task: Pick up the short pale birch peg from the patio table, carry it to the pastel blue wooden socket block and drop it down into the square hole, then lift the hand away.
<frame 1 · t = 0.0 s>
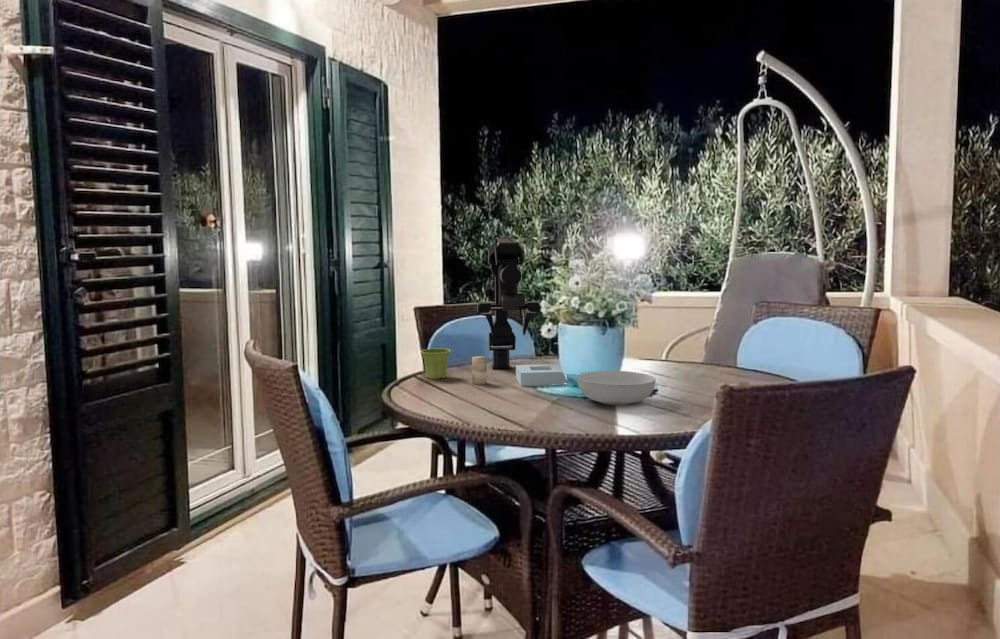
hand: (508, 335, 240), 15 cm above the table, tool pointing down, fingers open, 9 cm apart
birch peg: (479, 383, 242), on the table
socket block: (540, 381, 245), on the table
serving bowl: (615, 402, 215), on the table
plant pot: (436, 378, 253), on the table
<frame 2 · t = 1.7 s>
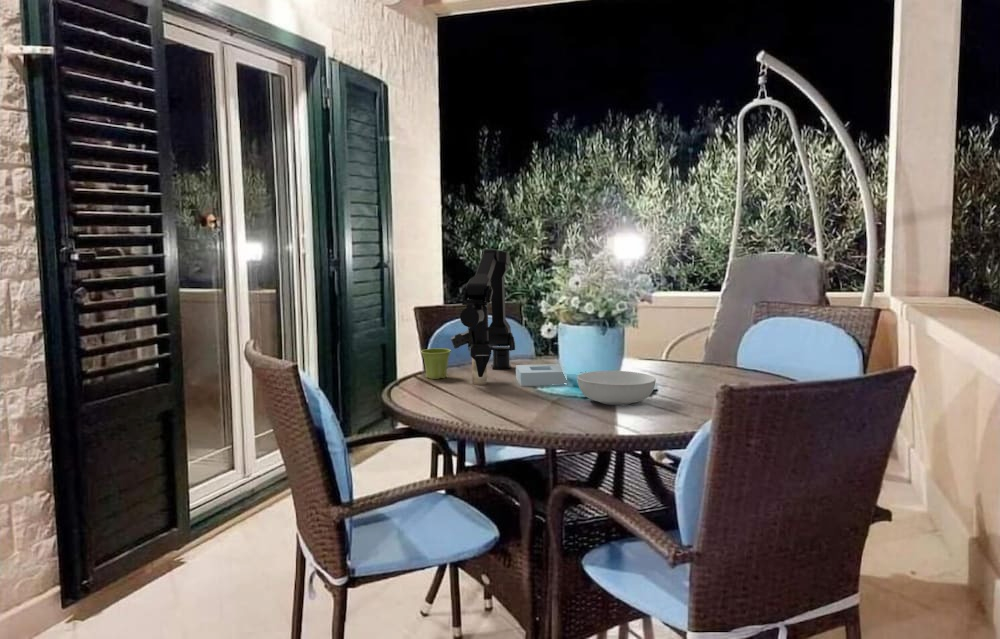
hand: (479, 374, 242), 3 cm above the table, tool pointing down, fingers open, 9 cm apart
nothing on the table moved.
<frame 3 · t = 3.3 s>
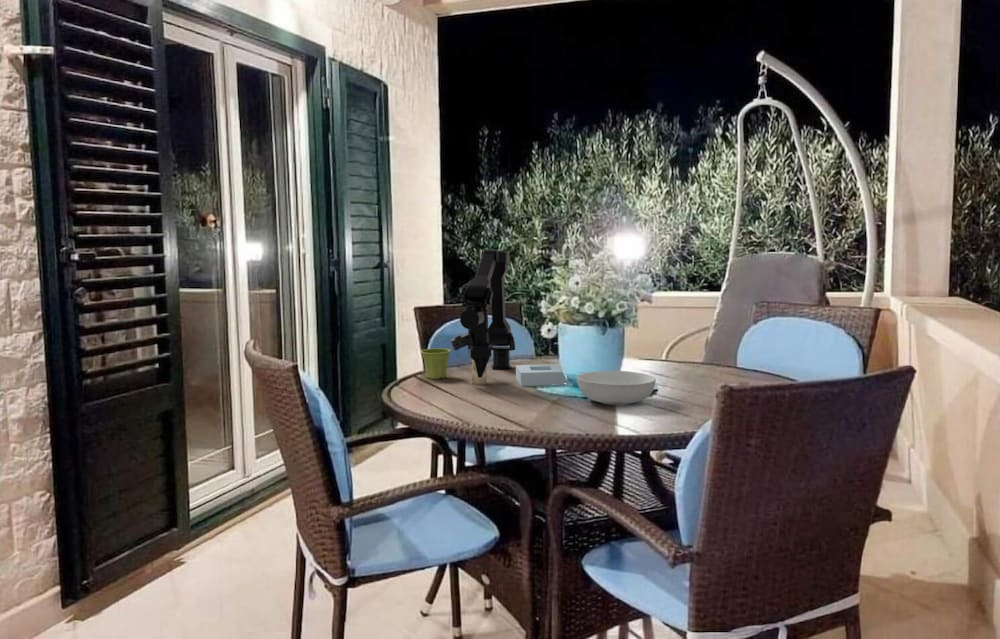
hand: (479, 376, 242), 2 cm above the table, tool pointing down, fingers closed on birch peg, 4 cm apart
birch peg: (479, 383, 242), on the table, touching gripper
everything else where it was.
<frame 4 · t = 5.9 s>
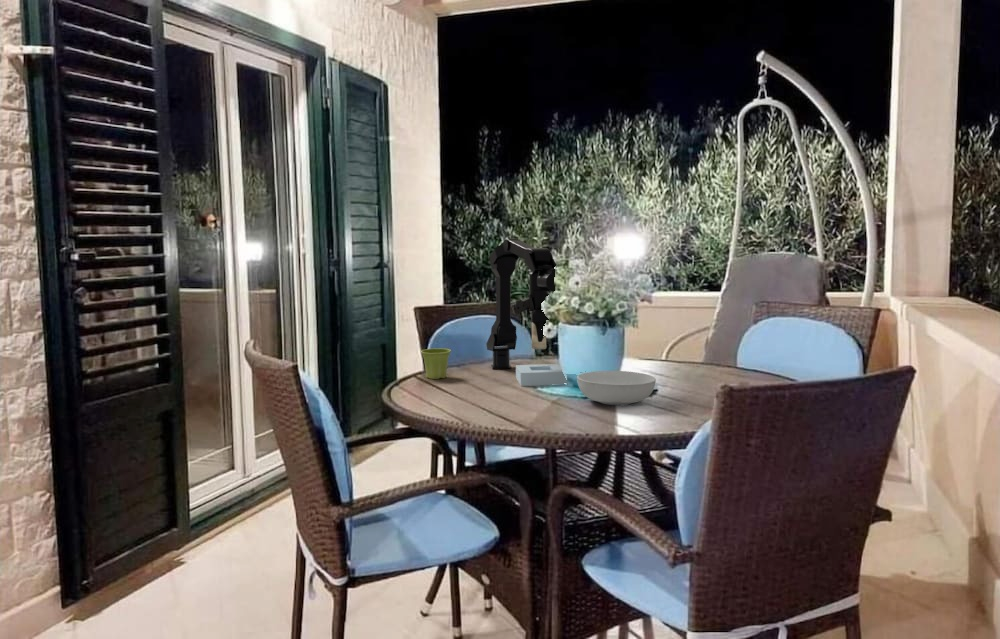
hand: (539, 340, 243), 13 cm above the table, tool pointing down, fingers closed on birch peg, 4 cm apart
birch peg: (539, 348, 244), point 10 cm above the table, touching gripper
everything else where it was.
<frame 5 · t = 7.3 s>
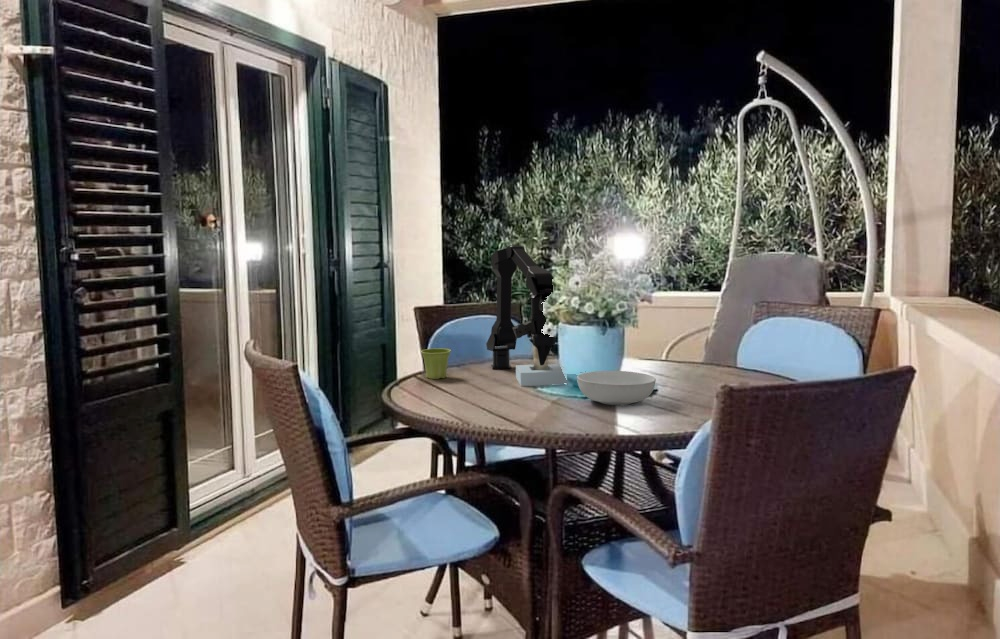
hand: (540, 363, 244), 5 cm above the table, tool pointing down, fingers closed on birch peg, 4 cm apart
birch peg: (540, 371, 245), point 3 cm above the table, touching gripper
everything else where it was.
when the fingers open (5 cm above the table, at t = 8.4 s): birch peg drops 3 cm, resting in socket block.
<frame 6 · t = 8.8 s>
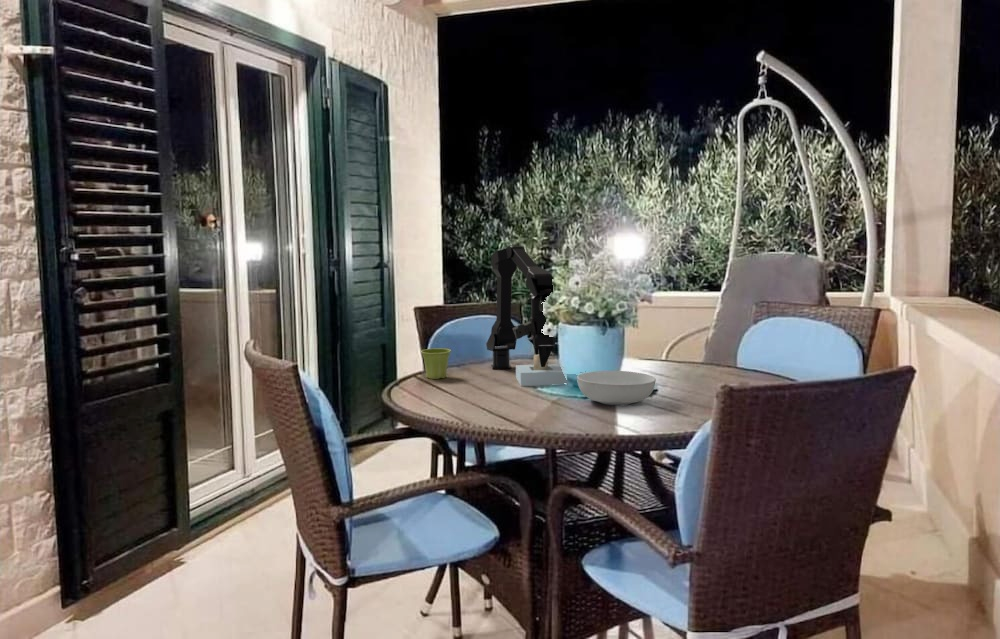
hand: (540, 364, 244), 5 cm above the table, tool pointing down, fingers open, 9 cm apart
birch peg: (540, 381, 245), resting in socket block
everything else where it was.
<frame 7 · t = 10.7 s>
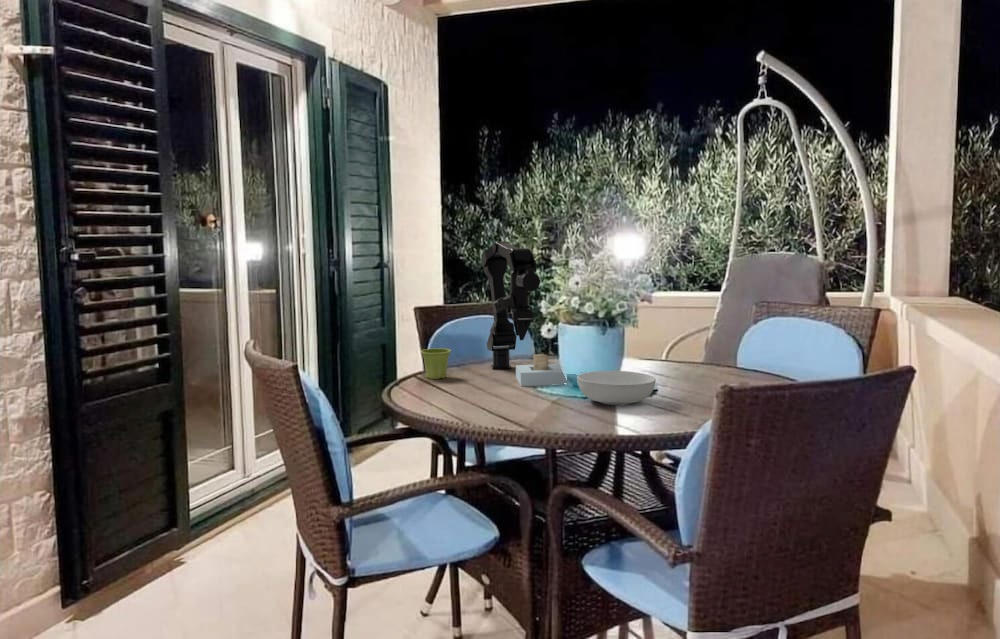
hand: (519, 337, 251), 13 cm above the table, tool pointing down, fingers open, 9 cm apart
nothing on the table moved.
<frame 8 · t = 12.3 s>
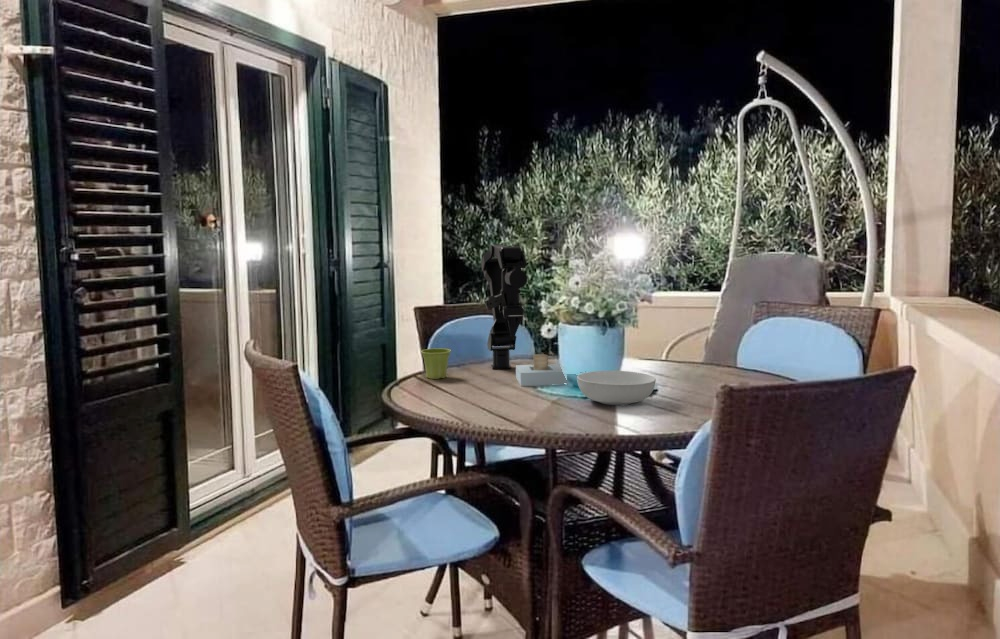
hand: (511, 335, 254), 13 cm above the table, tool pointing down, fingers open, 9 cm apart
nothing on the table moved.
at the end: birch peg 0.0 cm off-centre on the socket block, point 0.0 cm above the socket block's base; birch peg tilted 0°; the gripper is holding nothing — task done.
